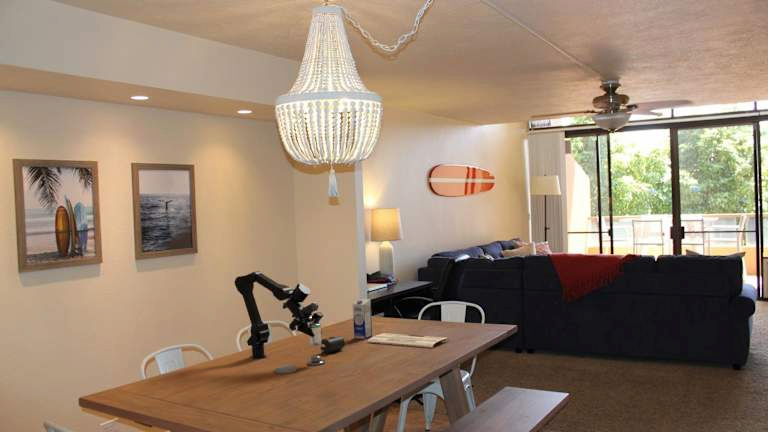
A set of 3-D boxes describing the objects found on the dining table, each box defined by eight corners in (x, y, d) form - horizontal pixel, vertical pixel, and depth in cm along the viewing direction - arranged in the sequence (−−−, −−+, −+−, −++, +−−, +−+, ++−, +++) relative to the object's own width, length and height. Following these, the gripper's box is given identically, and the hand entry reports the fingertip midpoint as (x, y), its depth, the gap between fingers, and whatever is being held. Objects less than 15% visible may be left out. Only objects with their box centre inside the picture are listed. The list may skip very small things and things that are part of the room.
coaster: (273, 369, 291) (273, 367, 291) (293, 367, 294) (293, 364, 294) (277, 374, 282) (277, 372, 282) (298, 371, 285) (298, 369, 285)
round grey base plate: (305, 362, 301) (305, 356, 301) (322, 360, 304) (322, 353, 304) (309, 366, 294) (309, 359, 294) (327, 364, 297) (327, 357, 296)
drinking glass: (308, 343, 300) (307, 323, 300) (319, 342, 302) (318, 322, 302) (311, 346, 295) (310, 325, 295) (323, 344, 297) (322, 324, 297)
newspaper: (449, 342, 333) (449, 336, 333) (430, 350, 317) (430, 344, 317) (386, 337, 353) (385, 331, 353) (365, 344, 336) (365, 339, 336)
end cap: (331, 354, 315) (330, 340, 315) (320, 353, 320) (319, 339, 319) (345, 350, 323) (344, 336, 323) (334, 349, 327) (333, 335, 327)
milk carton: (372, 337, 352) (370, 298, 351) (365, 339, 346) (363, 300, 346) (361, 336, 356) (359, 298, 355) (354, 338, 350) (352, 300, 349)
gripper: (292, 300, 292) (314, 327, 287) (319, 294, 308) (339, 319, 303) (279, 317, 297) (300, 344, 291) (306, 310, 313) (326, 335, 307)
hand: (317, 335), depth 298 cm, fingers closed on drinking glass, 5 cm apart
